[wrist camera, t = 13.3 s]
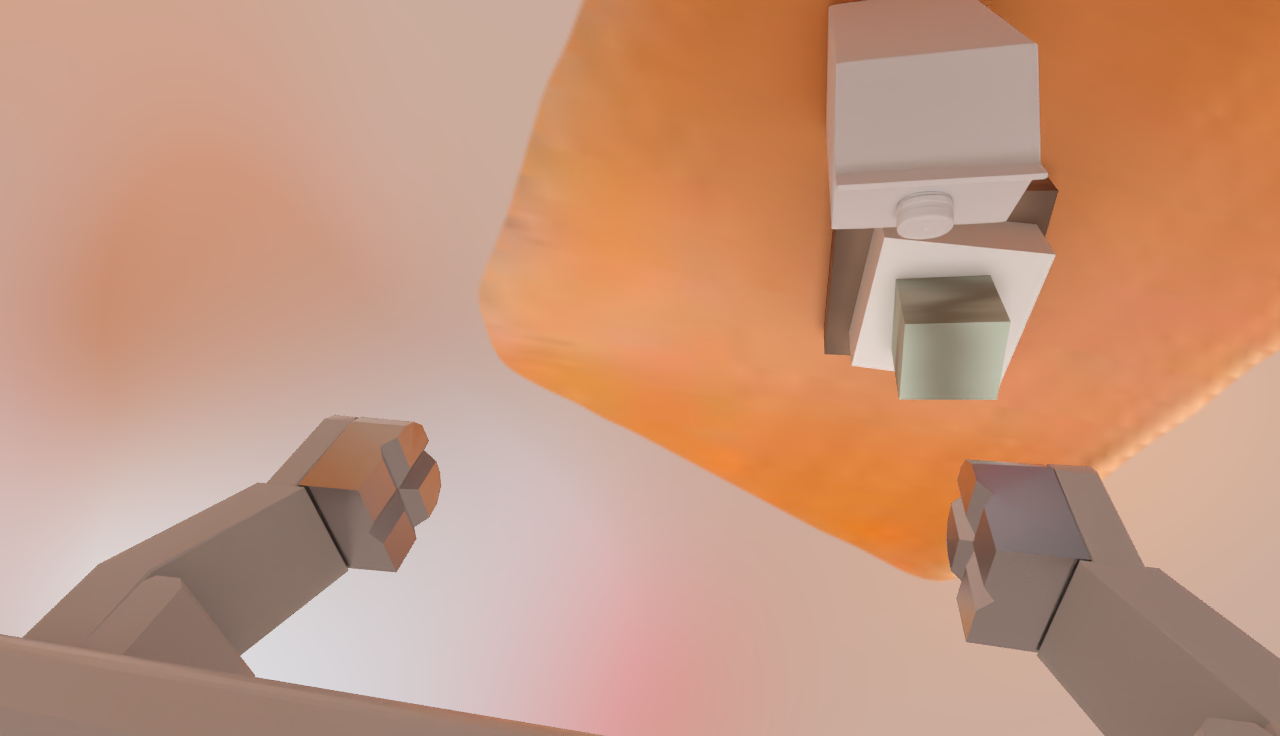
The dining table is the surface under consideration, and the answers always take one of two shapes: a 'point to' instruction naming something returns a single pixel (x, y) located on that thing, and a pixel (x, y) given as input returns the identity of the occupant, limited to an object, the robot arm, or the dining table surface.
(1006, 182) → the milk carton
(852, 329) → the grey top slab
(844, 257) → the walnut base slab
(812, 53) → the dining table surface
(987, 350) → the sage cube
